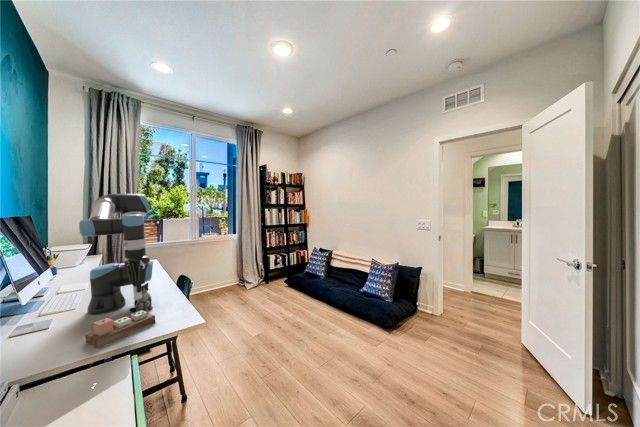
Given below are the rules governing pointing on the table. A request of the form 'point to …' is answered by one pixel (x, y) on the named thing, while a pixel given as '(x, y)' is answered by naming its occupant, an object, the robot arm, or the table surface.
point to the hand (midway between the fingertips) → (138, 298)
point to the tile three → (138, 315)
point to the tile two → (122, 322)
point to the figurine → (143, 301)
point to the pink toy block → (103, 326)
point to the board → (119, 332)
